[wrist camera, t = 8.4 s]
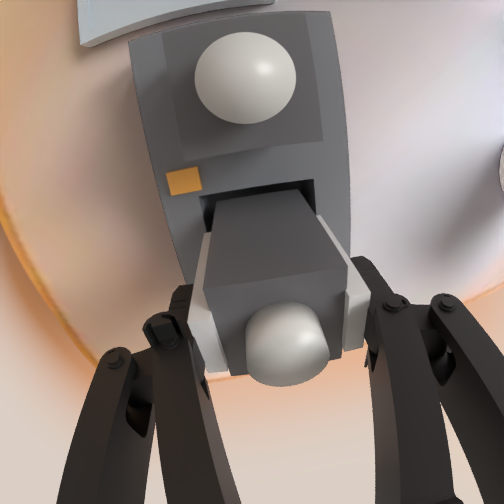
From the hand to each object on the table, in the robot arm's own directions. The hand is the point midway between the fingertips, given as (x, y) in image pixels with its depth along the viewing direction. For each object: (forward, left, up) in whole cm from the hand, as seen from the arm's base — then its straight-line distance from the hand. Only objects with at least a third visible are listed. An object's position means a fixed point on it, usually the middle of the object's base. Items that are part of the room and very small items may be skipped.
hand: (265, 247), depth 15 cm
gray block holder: (-4, 0, -5) cm, 6 cm away
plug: (0, 0, -2) cm, 2 cm away
